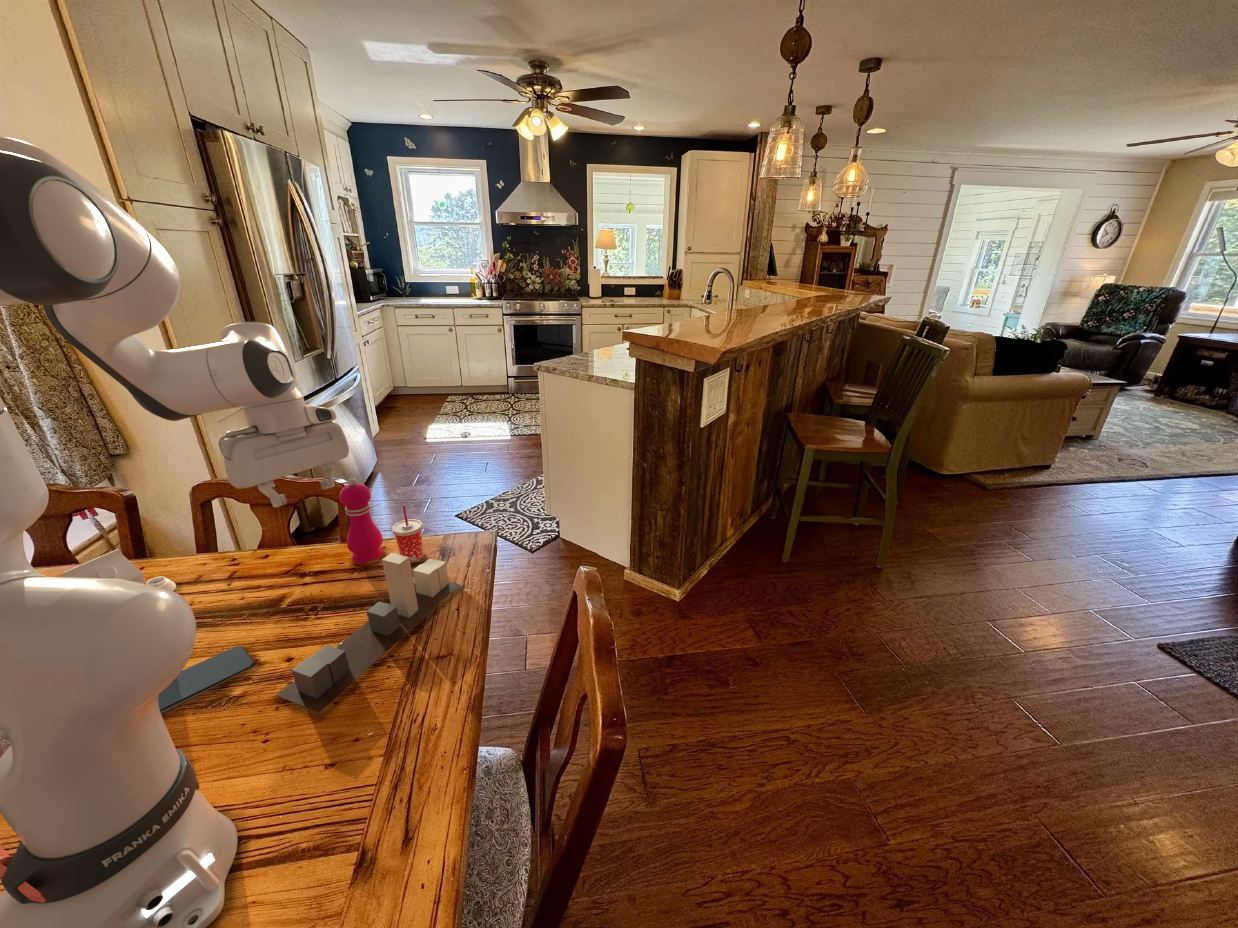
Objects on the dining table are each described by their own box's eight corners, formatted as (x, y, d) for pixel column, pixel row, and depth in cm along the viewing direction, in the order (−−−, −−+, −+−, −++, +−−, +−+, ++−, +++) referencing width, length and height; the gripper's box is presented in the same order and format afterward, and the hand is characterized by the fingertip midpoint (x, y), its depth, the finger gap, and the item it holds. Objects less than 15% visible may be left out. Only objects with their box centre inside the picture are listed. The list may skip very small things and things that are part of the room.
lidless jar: (137, 597, 98) (155, 602, 97) (132, 585, 97) (149, 590, 96) (165, 583, 103) (182, 587, 101) (161, 571, 101) (177, 576, 100)
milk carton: (97, 663, 82) (48, 568, 75) (146, 634, 89) (105, 544, 81) (125, 673, 80) (77, 577, 73) (173, 644, 87) (133, 552, 79)
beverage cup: (421, 568, 109) (411, 512, 103) (393, 567, 109) (383, 511, 104) (431, 552, 115) (423, 499, 109) (405, 552, 115) (395, 498, 109)
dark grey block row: (317, 698, 75) (310, 677, 74) (297, 691, 77) (291, 669, 75) (400, 625, 90) (396, 606, 89) (383, 620, 92) (379, 601, 90)
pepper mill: (372, 568, 108) (354, 487, 101) (343, 564, 110) (324, 483, 102) (392, 551, 115) (377, 473, 107) (365, 547, 116) (348, 470, 108)
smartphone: (256, 663, 81) (134, 722, 70) (259, 671, 82) (138, 731, 71) (240, 642, 86) (122, 695, 74) (242, 650, 86) (126, 703, 75)
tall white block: (409, 617, 92) (399, 564, 88) (392, 612, 94) (381, 559, 89) (418, 609, 95) (409, 556, 90) (402, 604, 96) (391, 552, 91)
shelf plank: (320, 717, 73) (319, 712, 73) (277, 699, 76) (275, 695, 76) (460, 588, 102) (460, 584, 102) (425, 579, 105) (425, 575, 105)
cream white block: (432, 597, 98) (429, 574, 96) (416, 592, 99) (412, 570, 97) (448, 583, 102) (445, 560, 100) (433, 578, 104) (429, 556, 102)
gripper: (227, 431, 74) (259, 517, 77) (342, 408, 92) (364, 478, 95) (202, 436, 76) (233, 519, 79) (319, 412, 95) (341, 480, 98)
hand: (305, 496), depth 88 cm, fingers open, 8 cm apart
